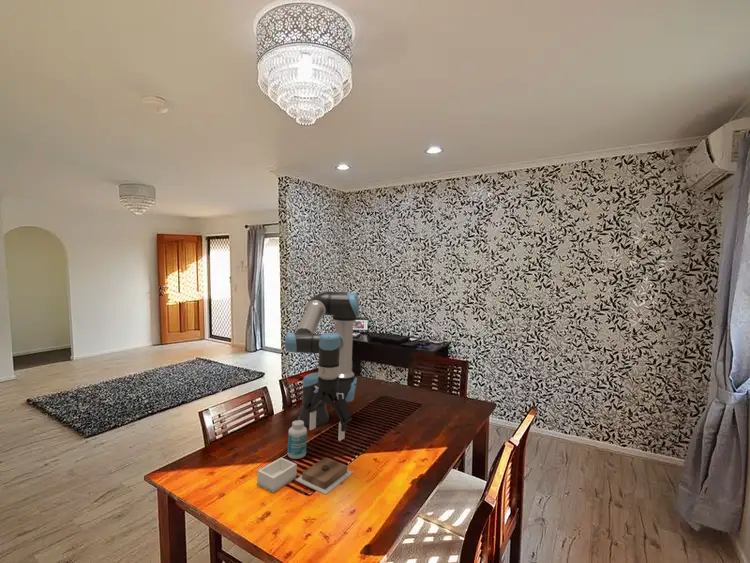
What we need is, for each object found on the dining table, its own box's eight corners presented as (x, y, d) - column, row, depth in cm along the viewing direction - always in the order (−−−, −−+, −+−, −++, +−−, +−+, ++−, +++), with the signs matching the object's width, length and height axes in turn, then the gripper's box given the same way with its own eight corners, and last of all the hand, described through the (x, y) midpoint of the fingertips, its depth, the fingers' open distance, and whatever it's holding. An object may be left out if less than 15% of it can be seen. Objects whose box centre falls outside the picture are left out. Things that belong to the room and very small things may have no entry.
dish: (257, 484, 126) (257, 470, 125) (280, 470, 135) (281, 457, 135) (273, 493, 121) (273, 478, 121) (296, 477, 131) (296, 464, 131)
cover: (301, 479, 129) (302, 470, 129) (325, 463, 140) (325, 454, 140) (324, 489, 124) (324, 480, 124) (347, 472, 135) (347, 463, 135)
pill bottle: (290, 461, 141) (291, 427, 141) (285, 452, 148) (286, 420, 147) (308, 457, 145) (309, 424, 144) (303, 449, 151) (304, 417, 151)
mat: (295, 480, 129) (295, 479, 129) (324, 461, 142) (324, 460, 142) (325, 494, 122) (325, 493, 121) (353, 473, 135) (353, 471, 135)
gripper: (296, 372, 134) (294, 428, 135) (350, 386, 121) (348, 448, 122) (309, 368, 140) (308, 421, 141) (362, 381, 127) (360, 439, 128)
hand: (326, 434), depth 132 cm, fingers open, 13 cm apart
